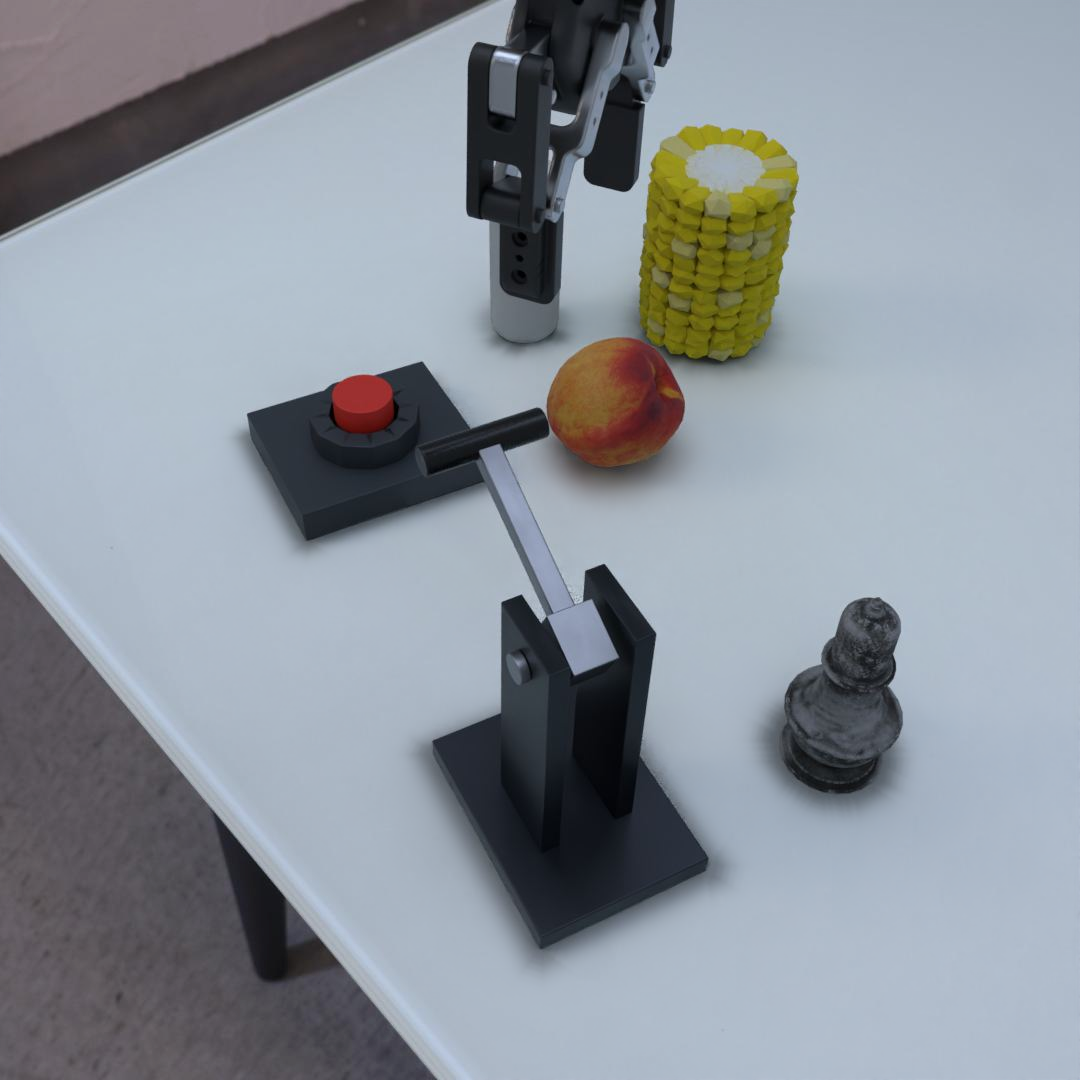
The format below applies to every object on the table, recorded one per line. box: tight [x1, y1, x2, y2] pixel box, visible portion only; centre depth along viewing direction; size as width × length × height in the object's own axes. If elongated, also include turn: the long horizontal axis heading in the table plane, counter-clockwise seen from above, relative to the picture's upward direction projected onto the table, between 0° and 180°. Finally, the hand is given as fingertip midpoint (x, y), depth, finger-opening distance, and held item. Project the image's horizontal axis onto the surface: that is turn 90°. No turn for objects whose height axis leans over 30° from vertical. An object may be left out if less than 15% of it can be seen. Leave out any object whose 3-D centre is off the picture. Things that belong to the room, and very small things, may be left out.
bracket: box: [431, 563, 710, 950], centre depth 60 cm, size 12×9×15 cm
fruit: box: [545, 336, 686, 468], centre depth 80 cm, size 8×8×8 cm
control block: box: [246, 360, 485, 541], centre depth 81 cm, size 12×10×4 cm
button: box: [332, 374, 394, 434], centre depth 79 cm, size 4×4×2 cm
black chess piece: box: [779, 596, 904, 795], centre depth 64 cm, size 6×6×12 cm
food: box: [638, 123, 800, 362], centre depth 87 cm, size 15×12×10 cm
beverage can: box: [488, 159, 561, 344], centre depth 88 cm, size 5×5×12 cm
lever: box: [415, 406, 620, 687], centre depth 57 cm, size 12×6×2 cm, turn 27°
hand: (571, 237), depth 52 cm, fingers open, 8 cm apart
